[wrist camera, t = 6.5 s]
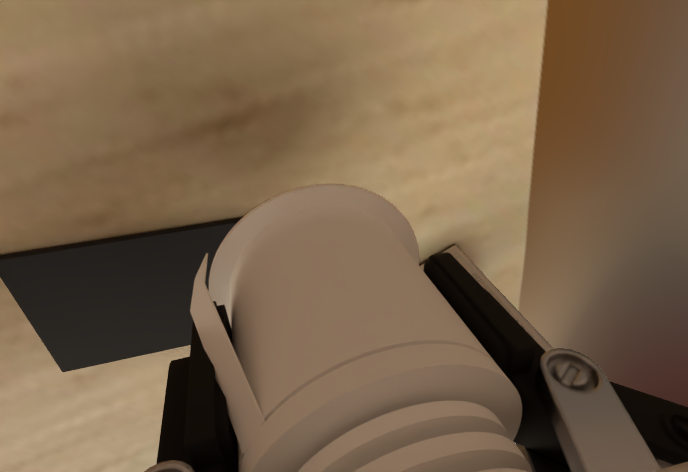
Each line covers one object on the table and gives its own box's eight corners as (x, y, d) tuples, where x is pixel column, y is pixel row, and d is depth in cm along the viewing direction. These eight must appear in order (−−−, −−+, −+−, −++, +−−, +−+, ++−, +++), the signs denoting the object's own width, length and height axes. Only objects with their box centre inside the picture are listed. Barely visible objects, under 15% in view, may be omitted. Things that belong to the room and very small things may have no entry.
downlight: (459, 228, 14) (830, 564, 5) (362, 366, 16) (520, 748, 8) (247, 133, 10) (403, 733, 2) (161, 330, 12) (51, 991, 4)
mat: (65, 366, 28) (62, 372, 28) (-6, 255, 23) (-11, 261, 22) (350, 305, 33) (352, 310, 32) (346, 200, 27) (349, 204, 27)
